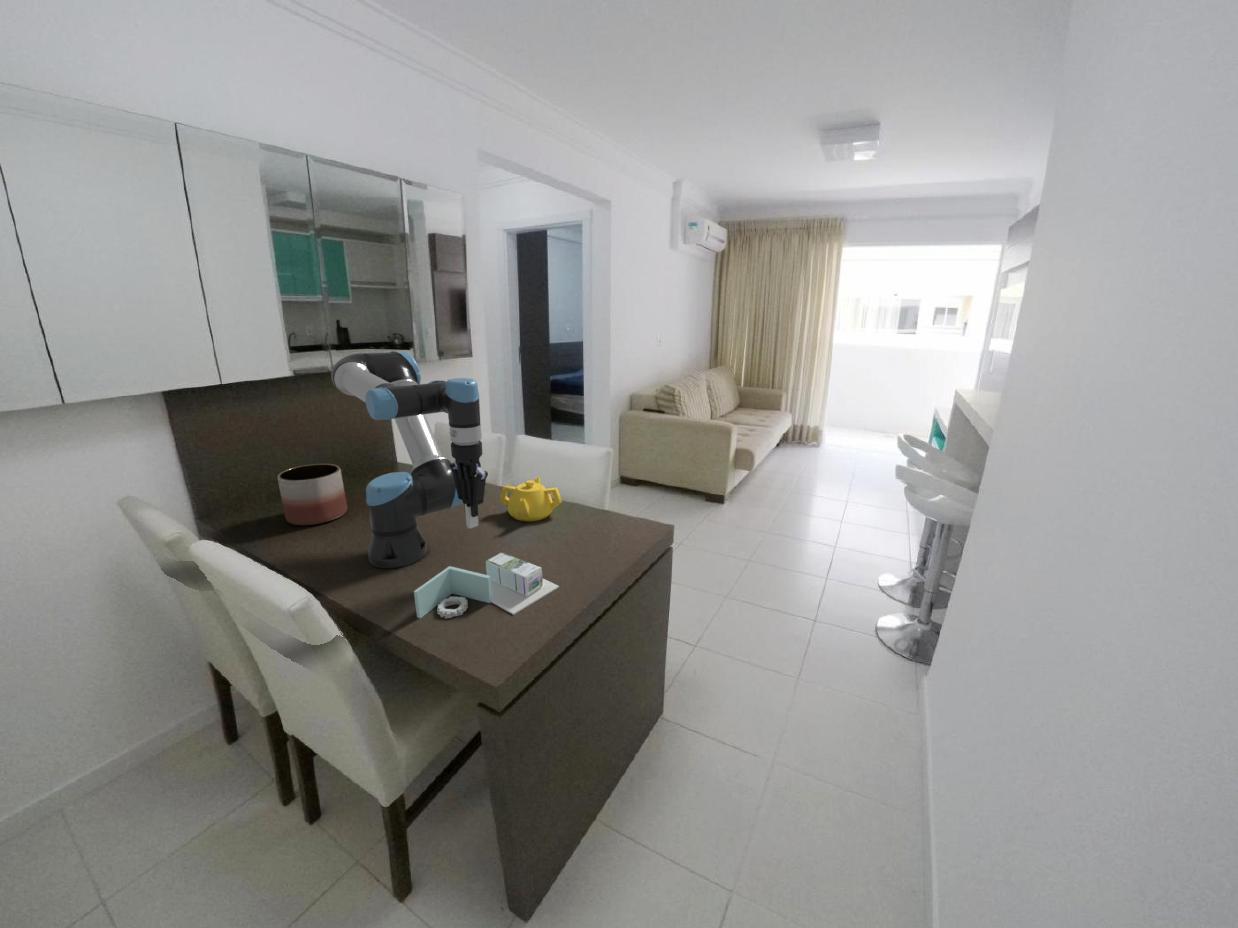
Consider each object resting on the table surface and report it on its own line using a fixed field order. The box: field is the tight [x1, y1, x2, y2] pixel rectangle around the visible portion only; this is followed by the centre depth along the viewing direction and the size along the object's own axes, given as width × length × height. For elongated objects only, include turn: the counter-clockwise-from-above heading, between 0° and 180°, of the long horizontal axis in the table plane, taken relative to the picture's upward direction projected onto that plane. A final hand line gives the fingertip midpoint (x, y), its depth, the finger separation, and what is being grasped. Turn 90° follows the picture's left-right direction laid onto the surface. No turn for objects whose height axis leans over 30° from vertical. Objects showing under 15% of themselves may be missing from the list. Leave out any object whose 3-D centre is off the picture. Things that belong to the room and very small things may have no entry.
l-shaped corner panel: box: [413, 565, 492, 619], centre depth 113 cm, size 12×12×8 cm
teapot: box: [498, 477, 563, 522], centre depth 165 cm, size 17×17×12 cm
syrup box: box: [485, 551, 544, 596], centre depth 123 cm, size 6×6×14 cm
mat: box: [491, 578, 560, 616], centre depth 122 cm, size 16×15×1 cm
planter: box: [276, 463, 348, 526], centre depth 159 cm, size 18×18×16 cm
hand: (472, 526), depth 129 cm, fingers closed
